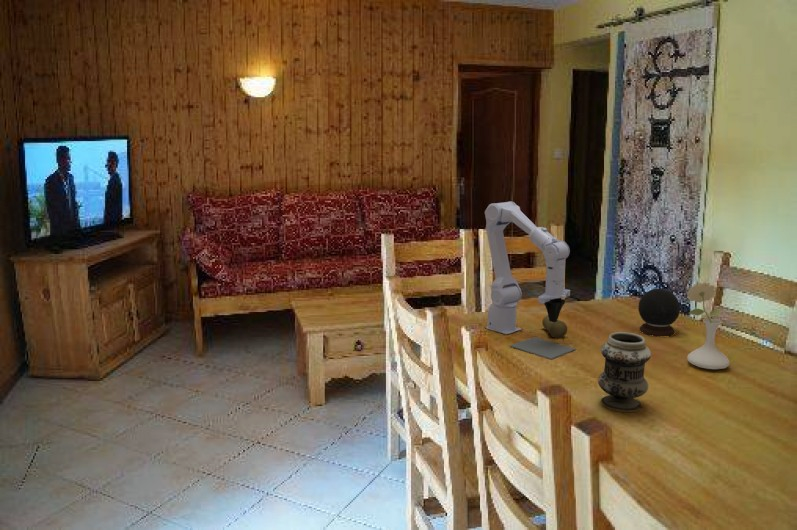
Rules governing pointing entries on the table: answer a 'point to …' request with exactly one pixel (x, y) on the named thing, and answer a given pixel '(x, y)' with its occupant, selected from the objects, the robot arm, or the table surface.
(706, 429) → the table surface
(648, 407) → the table surface
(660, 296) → the black ball on stand
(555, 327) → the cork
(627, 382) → the apothecary jar
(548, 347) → the topple mat
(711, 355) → the flower in vase
